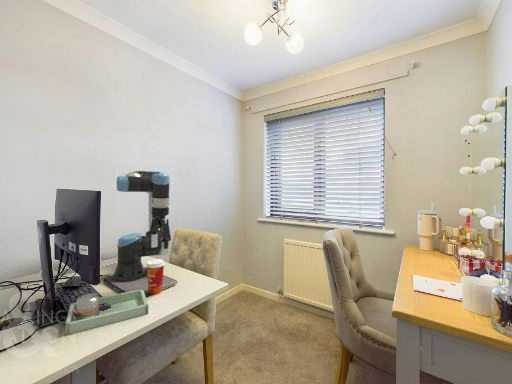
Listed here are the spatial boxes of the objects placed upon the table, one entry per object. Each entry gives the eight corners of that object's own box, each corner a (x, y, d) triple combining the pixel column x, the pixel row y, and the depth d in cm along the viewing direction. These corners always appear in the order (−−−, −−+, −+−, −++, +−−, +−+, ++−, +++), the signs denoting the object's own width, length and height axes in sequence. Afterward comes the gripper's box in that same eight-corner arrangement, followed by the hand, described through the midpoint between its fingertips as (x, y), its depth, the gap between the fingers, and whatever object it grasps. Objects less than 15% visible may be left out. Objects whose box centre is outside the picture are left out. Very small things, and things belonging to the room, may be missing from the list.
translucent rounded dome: (77, 315, 90) (77, 295, 89) (99, 310, 94) (99, 291, 93) (75, 325, 84) (75, 304, 83) (99, 320, 88) (99, 299, 87)
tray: (70, 314, 92) (70, 303, 92) (142, 298, 106) (142, 288, 106) (65, 338, 79) (65, 325, 79) (148, 316, 93) (148, 305, 93)
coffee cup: (143, 291, 113) (143, 261, 112) (160, 286, 119) (160, 257, 118) (149, 297, 107) (150, 266, 107) (167, 292, 113) (167, 262, 112)
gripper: (143, 203, 115) (142, 245, 116) (162, 211, 96) (161, 260, 98) (158, 203, 120) (157, 243, 121) (179, 210, 102) (178, 257, 103)
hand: (159, 251), depth 110 cm, fingers open, 13 cm apart
